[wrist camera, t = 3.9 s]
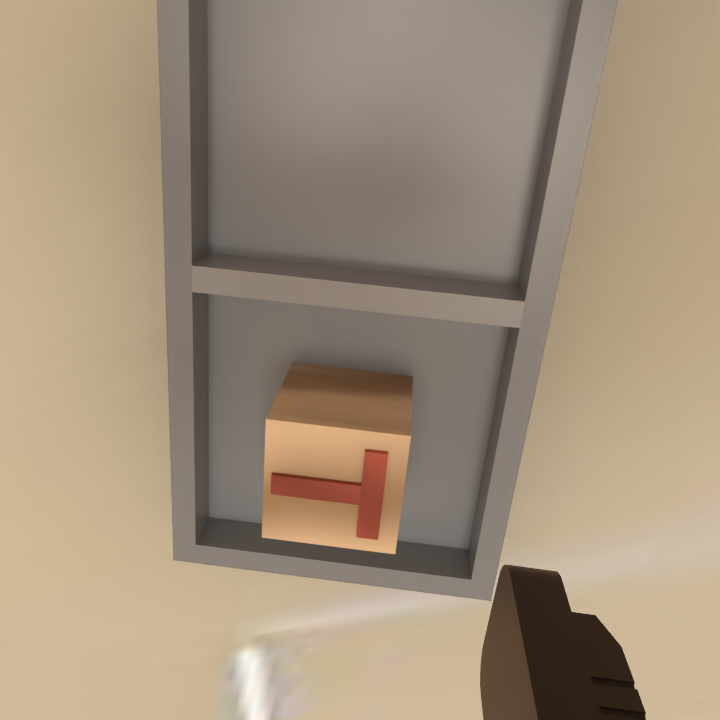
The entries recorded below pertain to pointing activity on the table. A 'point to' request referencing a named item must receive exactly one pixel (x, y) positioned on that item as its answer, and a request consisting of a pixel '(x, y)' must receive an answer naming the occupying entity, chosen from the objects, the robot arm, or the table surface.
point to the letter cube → (337, 457)
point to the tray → (367, 250)
